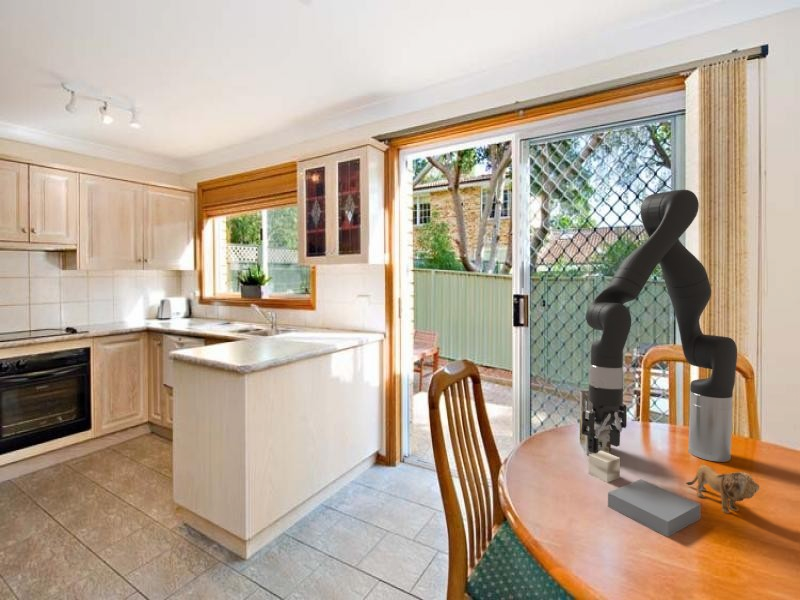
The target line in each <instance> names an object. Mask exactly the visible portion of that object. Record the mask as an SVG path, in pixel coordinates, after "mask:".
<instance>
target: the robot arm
mask: <svg viewBox="0 0 800 600" xmlns="http://www.w3.org/2000/svg"><path fill="white" fill-rule="evenodd" d="M699 208H700V204H699V199H698V197H697V195H696V194H695V192H693V191H692V190H688V189H675V190H669V191H664V192H663V191H661V192H658V193H652V194H648V196H646V197H644V199H643V200H642V202H641V205H640V210H639V211H640V219H641V222H642V225H643V227H644V230H645V232H646V234H647V236H648V238H647V239H646V240H645V241H643V243H642V244H640V245H639V246H638V247H637V248H635V249H634V250H633V251H631V252H630V254H628V255H627V256H626V257H625V258H624V259H623V261H622V262H621V263H620V265H619V266H618V268H617V270H616V271H615V272H614V274H613V277H612V278H611V280H610V282H609V283H608V284H607V286H605V287H604V288H603V289H602V290H601V291H600V292H599V293H598V294H597V296H596V297H595V298H594V299H593V300H592V301H591V302H590V304H589V306H588V307H587V309H586V312H585V313H586V314H585V320H586V323H587V325H588V326H589V327H590V328H591V329H594V330H596V331H597V330H598V331H602V335H601V338H600V340H596V341H594V342H593V343H592V344H591V347H590V364H589V365H590V367H589V373H588V391H589V401H590V402H591V403H592V404H593V406H592V410H590V411H589V410H583V417H582V434H584V435H587V436H588V450H589V451H590V452H592V453H598V441H599V438H598V436H599V434H600V432H601V431H603V430H604V428H605V426H607V425H609V426H610V428H611V430H610V444H611V446H613V447H616V448H617V447H620V445H621V443H620V441H621V432H622V431H623V429H626V428H627V405H626V404H623V403H624V399H623V398H624V367H623V365H624V363H623V362H624V348H625V346H626V343H627V340H628V337H629V334H630V330H631V327H632V316H631V312H630V310H629V308H628V307H627V306H626V305H624V304H625V303H628V302H632V301H635V300H637V298H638V297H639V296H640V294H641V293H642V290H643V289H644V287H645V285H646V284H647V282H648V280H649V279H650V277H651V276H652V274H653V272H654V270H655V269H656V268H657V266H658V265H659V266H660V268H661V272H662V276H663V280H664V284H665V287H666V289H667V293H668V296H669V298H670V301H671V305H672V307H673V311H674V315H675V319H676V321H677V322H676V323H677V327H678V332H679V337H680V343H681V348H682V353H683V356H684V358H685V360H686V361H687V363H688V364H689V365H691V366H693V367H697V368H702V369H709V370H711V375H710V376H709V377H707V378H699V379H694V380H691V382H690V385H689V386H690V387H689V416H688V417H689V420H688V421H689V423H688V452H689V453H690V454H691V455H693V456H694V457H697V458H700V459H703V460H706V461H711V462H717V463H721V462H722V463H726V462H729V461H731V455H732V450H731V449H732V430H733V429H732V425H733V424H732V423H733V421H732V420H733V392H734V388H735V382H736V374H737V373H736V371H737V363H738V347H737V344H736V342H735V340H734V339H733V338H731V337H729V336H728V337H727V336H723V335H722V336H721V335H712V334H704V333H703V332H702V329H701V324H700V319H701V316H702V313H703V312H704V310H705V309H706V307H707V305H708V304H709V301H710V299H711V297H712V287H711V283H710V279H709V276H708V273H707V270H706V268H705V266H704V265H703V264H702V263H701V261H700V260H699V259H698V258H697V257H696V256H695V255H694V254H693V253H692V252H691V251H689V250H688V249H687V248H686V247H685V245H683V243H682V241H680V238H681V236H683V234H684V233H685V232H686V231H687V229H689V227H690V226H691V224H692V223H693V222H694V221H695V219H696V216H697V214H698V211H699ZM595 422H596V423H597V424H598V425H597V424H594V423H595ZM587 426H589V428H588V430H587ZM594 428H595V429H596V431H595V433H594Z"/></svg>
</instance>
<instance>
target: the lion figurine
mask: <svg viewBox="0 0 800 600" xmlns="http://www.w3.org/2000/svg"><path fill="white" fill-rule="evenodd" d="M695 483H697V486H696V491H697V495H696V496H697V497H698V498H704V497H705V496H704V494H703V493H702V492H703V491H704V492H705V491H706V490H707V489H706V487H705V486H704V485H705V484H708V486H709V487H710V488H711V489H712V490H714V491H715V492H717V493H719V494H720V498H721V511H722V512H723V513H725V514H730V513H731V511H730V510H732V511H733V512H734V511H735V512H738V511H739V508H738V507H737V506H735V504H736V502H743V500H746V499H752V498H753V497H754V496H755V494H757V491H759V490H760V485H759V484H758V483H756V482H755V480H754V479H753V477H752V475H751V474H750V473H747V472H742V471H740V472H732V473H729V472H728V473H726V472H725V473H724V472H723V473H722V474H720V473H718V472H716V470H714V469H713V467H711V466H709V465H705V464H701V465H699V467H698V468H697V471H696V474H695V477H694V479H693V480H691V481H688V482H686V483H685V484H686V485H688V486H691V485H693V484H695ZM729 509H730V510H729Z"/></svg>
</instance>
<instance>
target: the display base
mask: <svg viewBox="0 0 800 600" xmlns="http://www.w3.org/2000/svg"><path fill="white" fill-rule="evenodd" d="M607 507H608V508H610V509H612V510H614V511H615V512H618V513H620V514H622V515H623V516H626V517H628V518H630V519H632V520H633V521H635V522H637V523H639V524H641V525H643V526H645V527H647V528H649V529H651V530H653V531H655V532H657V533H659V534H660V535H663V537H666V538H669V537H671V536H672V535H674V534H676V533H677V532H679V531H681V530H683V529H684V528H686V527H688V526H690V525H691V524H693V523H696V522H697V521H699V520H701V507H702V505H701V504H700V503H699V502H696V501H693V500H691V499H689V498H687V497H684V496H682V495H679V494H677V493H674V492H672V491H670V490H668V489H665V488H663V487H660V486H658V485H656V484H653V483H651V482H648V481H646V480H644V479H641V478H640V479H637V480H636V481H635V480H634V481H633V482H631V483H628V484H625V485H623V486H620V487H619V488H616V489H614V490H611V491H609V492H608V493H607Z"/></svg>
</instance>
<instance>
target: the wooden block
mask: <svg viewBox="0 0 800 600" xmlns="http://www.w3.org/2000/svg"><path fill="white" fill-rule="evenodd" d="M588 475H590V476H592V477H594V478H595V479H598V480H600V481H603V482H605V483H610V482H611V481H612V482H613V481H614V480H617V479H619V478H621V458H620V457H619V456H616V455H613V454H609V453H606V452H604V451H598V453H592V454H589V455H588Z"/></svg>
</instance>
